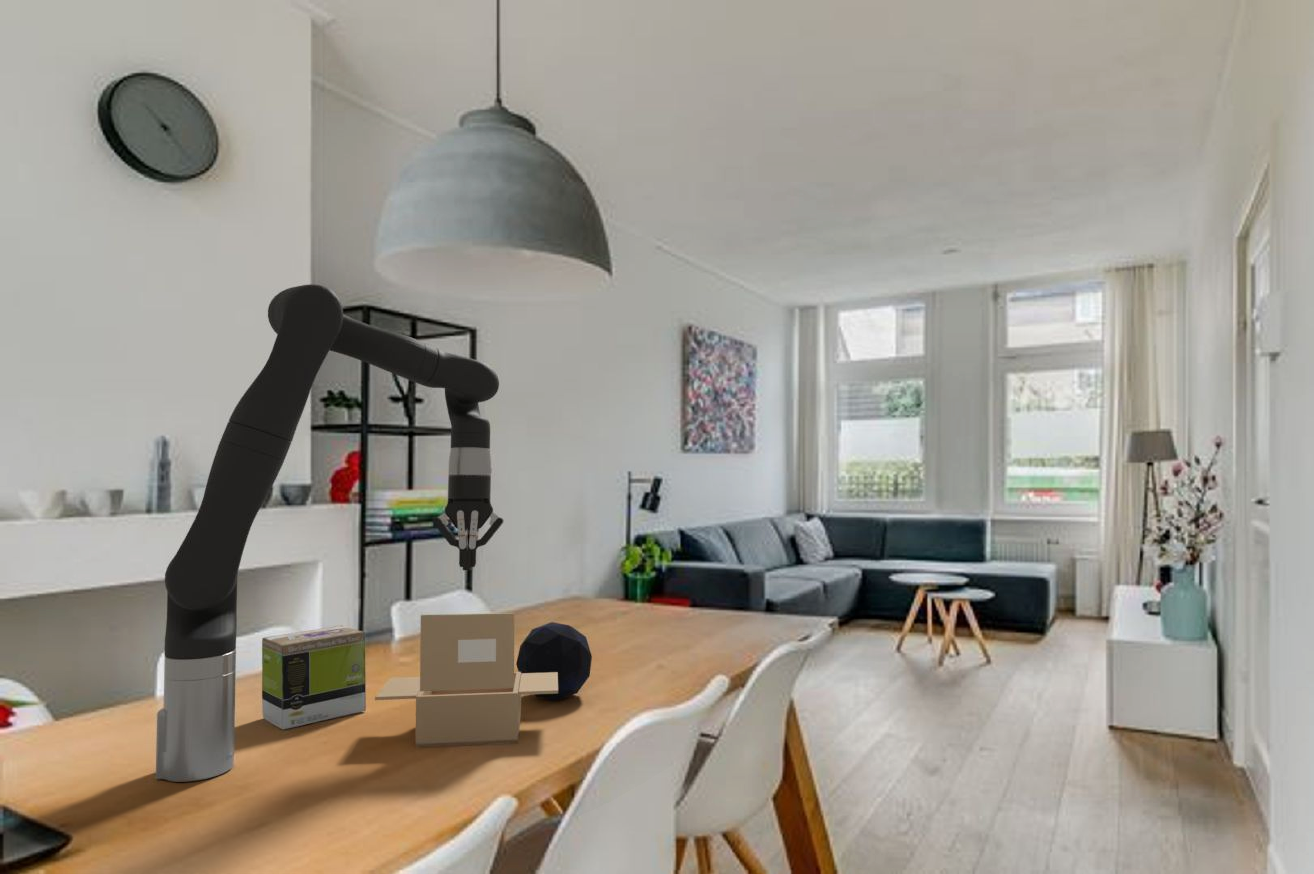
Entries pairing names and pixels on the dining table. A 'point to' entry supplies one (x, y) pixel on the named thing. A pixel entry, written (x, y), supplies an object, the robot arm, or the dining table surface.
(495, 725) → the carton
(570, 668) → the decorative orb
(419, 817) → the dining table surface
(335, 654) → the tea box
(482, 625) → the cardboard box flap
